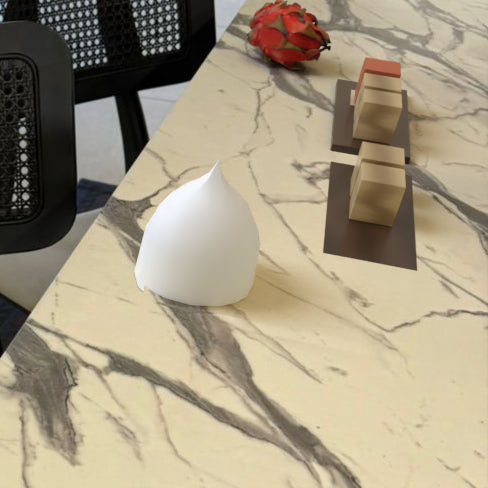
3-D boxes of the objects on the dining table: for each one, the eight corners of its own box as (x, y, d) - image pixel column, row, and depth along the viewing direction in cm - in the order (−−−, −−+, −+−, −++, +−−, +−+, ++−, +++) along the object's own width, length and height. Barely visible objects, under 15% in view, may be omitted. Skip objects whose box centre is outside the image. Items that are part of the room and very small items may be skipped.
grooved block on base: (409, 182, 115) (425, 137, 112) (414, 277, 99) (433, 229, 96) (328, 167, 116) (341, 123, 113) (320, 259, 100) (335, 211, 97)
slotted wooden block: (405, 96, 135) (418, 56, 131) (408, 164, 119) (423, 120, 115) (336, 84, 136) (347, 44, 133) (330, 150, 120) (342, 106, 117)
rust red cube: (389, 97, 132) (400, 62, 129) (389, 109, 128) (401, 74, 125) (354, 91, 132) (365, 56, 129) (354, 103, 129) (364, 68, 126)
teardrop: (251, 322, 91) (285, 197, 83) (128, 303, 92) (150, 178, 84) (252, 261, 99) (282, 142, 91) (138, 244, 100) (159, 124, 92)
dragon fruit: (236, 59, 145) (311, 95, 142) (227, 36, 137) (306, 73, 134) (269, 3, 143) (345, 38, 140) (262, -24, 135) (342, 12, 132)
